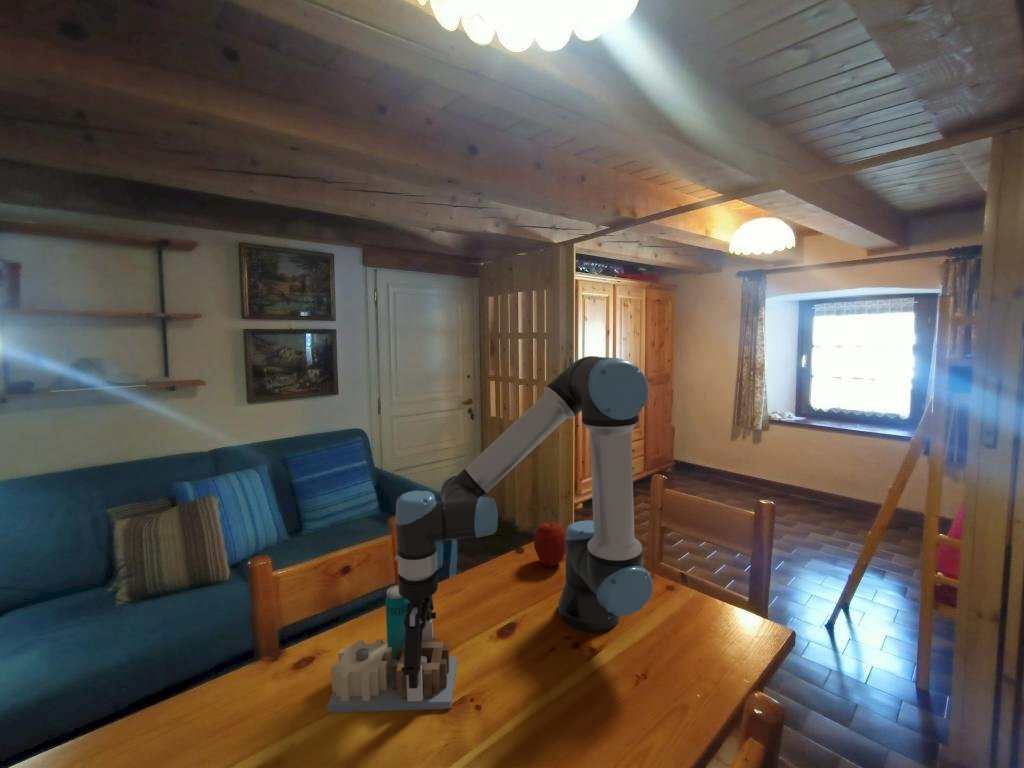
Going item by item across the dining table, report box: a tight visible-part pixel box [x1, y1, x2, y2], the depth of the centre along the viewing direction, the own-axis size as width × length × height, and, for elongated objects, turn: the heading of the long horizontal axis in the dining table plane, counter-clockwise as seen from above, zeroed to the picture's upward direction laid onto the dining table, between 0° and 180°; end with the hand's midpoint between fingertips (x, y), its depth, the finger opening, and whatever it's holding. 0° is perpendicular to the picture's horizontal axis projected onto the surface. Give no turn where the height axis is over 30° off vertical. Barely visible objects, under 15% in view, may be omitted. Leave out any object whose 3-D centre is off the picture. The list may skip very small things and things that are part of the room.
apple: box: [533, 519, 566, 568], centre depth 140 cm, size 10×10×14 cm
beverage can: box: [384, 584, 410, 659], centre depth 100 cm, size 6×6×15 cm
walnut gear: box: [392, 637, 450, 700], centre depth 92 cm, size 10×10×5 cm
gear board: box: [326, 639, 458, 714], centre depth 92 cm, size 23×12×8 cm, turn 91°
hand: (421, 673), depth 92 cm, fingers open, 13 cm apart
